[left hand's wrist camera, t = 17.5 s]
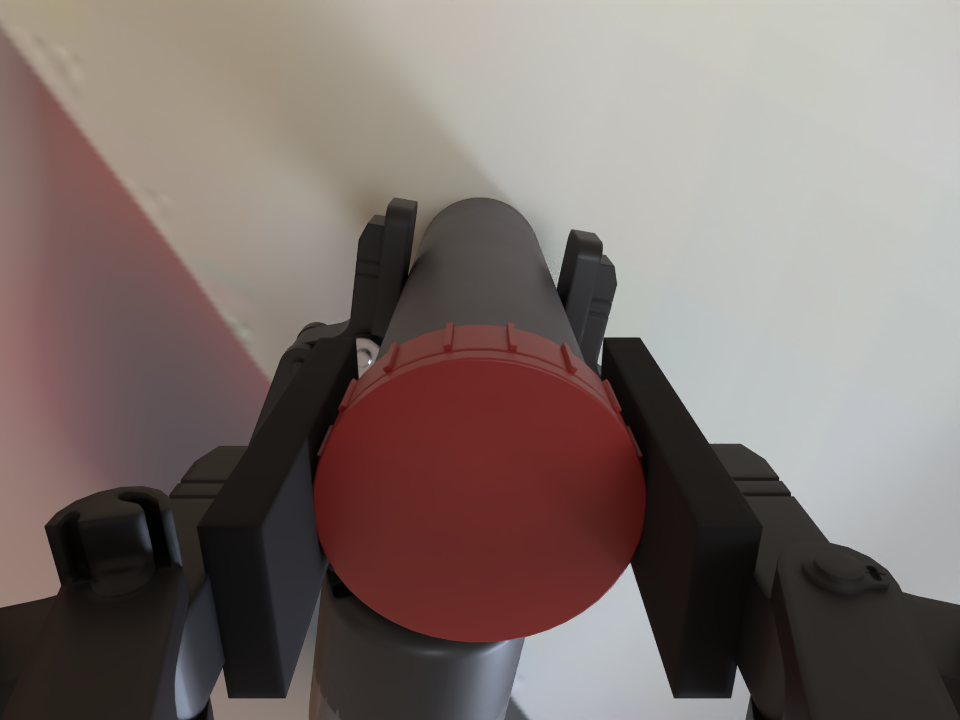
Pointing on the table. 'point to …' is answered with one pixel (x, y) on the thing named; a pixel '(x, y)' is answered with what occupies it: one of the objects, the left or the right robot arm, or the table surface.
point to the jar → (479, 278)
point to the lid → (479, 485)
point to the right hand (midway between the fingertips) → (494, 222)
